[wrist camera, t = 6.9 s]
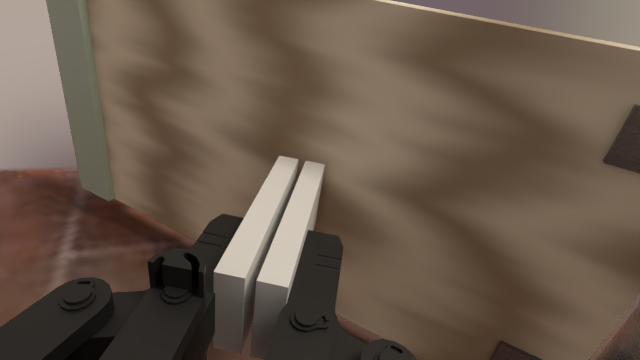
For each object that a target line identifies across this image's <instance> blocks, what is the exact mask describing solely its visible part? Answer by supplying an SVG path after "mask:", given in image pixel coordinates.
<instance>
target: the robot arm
mask: <svg viewBox="0 0 640 360" xmlns="http://www.w3.org/2000/svg"><path fill="white" fill-rule="evenodd" d="M298 161H299V159H294V158H289V157H284V156H279V157H278V159H277V161H276V163H275V164H274V166H273V168H272V170H271V171H270V173H269V175H268V177H267V178H266V180H265V182H264V184H263V185H262V187H261V189H260V191H259V193H258V194H257V196H256V198H255V200H254V201H253V203H252V205H251V207H250V208H249V210H248V212H247V214H246V216H245V217H244V218H242V217H237V216H232V215H227V214H221V215H219V216H218V217H216V218H215V219H213V220H211V221H210V222H209V223H208V225H207V226H206V228H205V229H204V231H203V233H202V234H201V235H200V236H199V238H198V239H197V242H195V244H194V245H193V246H192V248H191V249H183V248H175V249H169V250H165V251H163V252H160V253H158V254H156V255H155V256H153V257H152V258H151V259H150V260H149V261H148V268H149V278H150V287H151V288H150V289H148V290H144V291H136V292H117V293H112V291H111V288H110V285H109V284H108V283H106V282H105V281H104V280H102V279H97V278H93V277H92V278H80V279H76V280H72V281H69V282H67V283H65V284H63V285H61V286H59V287H57V288H56V289H54V290H53V291H52V292H50V293H49V294H47V295H46V296H44V297H43V298H42V299H40V300H39V301H37V302H36V303H34V304H33V305H31V306H30V307H29V308H27V309H26V310H24V311H23V312H21V313H20V314H19V315H17V316H16V317H14V318H13V319H11V320H10V321H9V322H7V323H6V324H4V325H3V326H1V327H0V360H206V350H207V348H208V346H209V344H210V342H211V339H212V337H213V348H217V349H221V350H225V351H230V352H234V353H239V354H241V351H242V349H243V346H244V343H245V341H246V338H247V335H248V333H249V330H250V327H251V324H252V322H253V330H252V342H251V354H250V356H253V357H257V358H262V359H264V360H416V359H415V357H414V355H413V354H412V353H411V352H410V351H409V350H408V349H407V348H406V347H404V346H402V345H401V344H399V343H397V342H395V341H391V340H385V339H381V340H375V341H372V342H371V343H369V344H368V345H367V344H366V343H364V342H362V341H360V340H358V339H356V338H354V337H353V336H351V335H350V334H348V333H347V332H346V331H345V330H344V329H343V328H342V327H341V325H340V324H339V322H338V320H337V317H336V314H335V305H336V298H337V291H338V284H339V277H340V269H341V262H342V255H343V248H344V247H343V245H342V243H341V240H340V238H339V236H336V235H331V234H326V233H321V232H316V231H313V230H314V226H315V222H316V216H317V210H318V204H319V198H320V192H321V186H322V180H323V174H324V168H325V164H320V163H315V162H310V161H305V164H304V166H303V168H302V171H301V173H300V176H299V178H298V181H297V183H296V177H297V169H298ZM295 184H296V185H295Z"/></svg>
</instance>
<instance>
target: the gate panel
mask: <svg viewBox="0 0 640 360" xmlns="http://www.w3.org/2000/svg"><path fill="white" fill-rule="evenodd" d="M46 2H47V7H48V13H49V18H50V23H51V29H52V34H53V39H54V45H55V50H56V55H57V60H58V65H59V71H60V76H61V81H62V87H63V92H64V97H65V103H66V108H67V113H68V118H69V123H70V129H71V134H72V139H73V145H74V150H75V155H76V160H77V166H78V171H79V176H80V182H81V187H82V188H84V189H86V190H88V191H90V192H92V193H94V194H96V195H97V196H99V197H101V198H103V199H105V200H107V201H110V200H112V199H114V198H115V199H116V200H118V201H120V202H122V203H124V204H126V205H128V206H130V207H132V208H134V209H136V210H138V211H140V212H141V213H143V214H145V215H147V216H149V217H151V218H153V219H155V220H157V221H159V222H161V223H163V224H165V225H166V226H168V227H170V228H172V229H174V230H176V231H178V232H180V233H182V234H184V235H186V236H188V237H189V238H191V239H193V240H195V241H197V239H198V238H199V236H200V235H201V234H202V233H203V231H204V229H205V228H206V226H207V225H208V223H209V222H210V221H211V220H213V219H215V218H216V217H218V216H219V215H221V214H227V215H232V216H237V217H242V218H244V217H245V216H246V214H247V212H248V210H249V208H250V207H251V205H252V203H253V201H254V200H255V198H256V196H257V194H258V193H259V191H260V189H261V187H262V185H263V184H264V182H265V180H266V178H267V177H268V175H269V173H270V171H271V170H272V168H273V166H274V164H275V163H276V161H277V159H278V157H279V156H284V157H289V158H294V159H299V161H298V169H297V177H296V183H297V181H298V178H299V176H300V173H301V171H302V168H303V166H304V164H305V161H310V162H315V163H320V164H325V168H324V174H323V180H322V186H321V192H320V198H319V204H318V210H317V216H316V222H315V226H314V230H313V231H316V232H321V233H326V234H331V235H336V236H339V238H340V240H341V243H342V245H343V247H344V248H343V255H342V262H341V269H340V277H339V284H338V291H337V298H336V305H335V314H337V315H339V316H341V317H343V318H345V319H347V320H349V321H351V322H353V323H355V324H357V325H359V326H360V327H362V328H364V329H366V330H368V331H370V332H372V333H374V334H376V335H378V336H380V337H382V338H383V339H385V340H391V341H395V342H397V343H399V344H401V345H402V346H404V347H406V348H407V349H408V350H409V351H410V352H411V353H412V354H414V355H416V356H418V357H420V358H422V359H424V360H590V358H591V356H592V355H593V354H594V352H595V351H596V350H597V349H598V347H599V346H600V345H601V343H602V342H603V341H604V339H605V338H606V337H607V335H608V334H609V333H610V332H611V330H612V329H613V328H614V326H615V325H616V324H617V322H618V321H619V320H620V319H621V317H622V316H623V315H624V313H625V312H626V311H627V309H628V308H629V307H630V306H631V304H632V303H633V302H634V300H635V299H636V298H637V296H638V295H639V294H640V47H635V46H631V45H625V44H620V43H614V42H609V41H604V40H598V39H593V38H588V37H582V36H577V35H572V34H567V33H561V32H556V31H551V30H545V29H539V28H535V27H529V26H524V25H518V24H513V23H508V22H503V21H497V20H491V19H487V18H481V17H476V16H470V15H465V14H460V13H454V12H449V11H444V10H439V9H433V8H428V7H422V6H417V5H411V4H406V3H401V2H396V1H391V0H46ZM295 185H296V184H295Z"/></svg>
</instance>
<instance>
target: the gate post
mask: <svg viewBox="0 0 640 360" xmlns="http://www.w3.org/2000/svg"><path fill="white" fill-rule="evenodd" d="M596 360H640V303H639V305H638V306H637V307H636V309H635V310H634V311H633V312H632V314H631V315H630V316H629V317H628V319H627V320H626V321H625V323H624V324H623V325H622V326H621V328H620V329H619V330H618V332H617V333H616V334H615V335H614V337H613V338H612V339H611V341H610V342H609V343H608V344H607V346H606V347H605V348H604V349H603V351H602V352H601V353H600V355H599V356H598V357H597V358H596Z"/></svg>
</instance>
